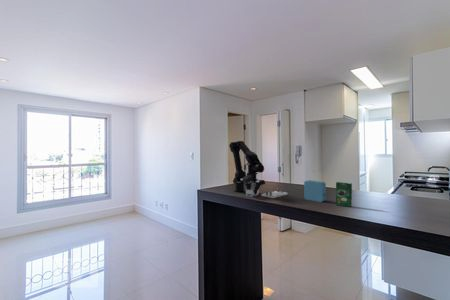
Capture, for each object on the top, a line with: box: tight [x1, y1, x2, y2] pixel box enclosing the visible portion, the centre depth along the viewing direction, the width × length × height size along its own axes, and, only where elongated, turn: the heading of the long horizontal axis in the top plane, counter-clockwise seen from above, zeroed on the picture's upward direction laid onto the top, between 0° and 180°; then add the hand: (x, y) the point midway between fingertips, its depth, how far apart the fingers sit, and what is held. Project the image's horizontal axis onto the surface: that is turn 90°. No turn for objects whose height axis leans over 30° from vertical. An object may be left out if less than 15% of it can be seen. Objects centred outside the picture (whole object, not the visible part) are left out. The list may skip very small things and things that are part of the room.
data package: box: [303, 179, 327, 203], centre depth 141 cm, size 12×4×12 cm, turn 42°
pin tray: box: [261, 188, 289, 199], centre depth 158 cm, size 10×17×3 cm, turn 131°
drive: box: [245, 187, 260, 198], centre depth 159 cm, size 5×10×5 cm, turn 144°
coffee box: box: [335, 181, 353, 208], centre depth 126 cm, size 8×3×13 cm, turn 54°
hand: (252, 193), depth 159 cm, fingers closed on drive, 6 cm apart
